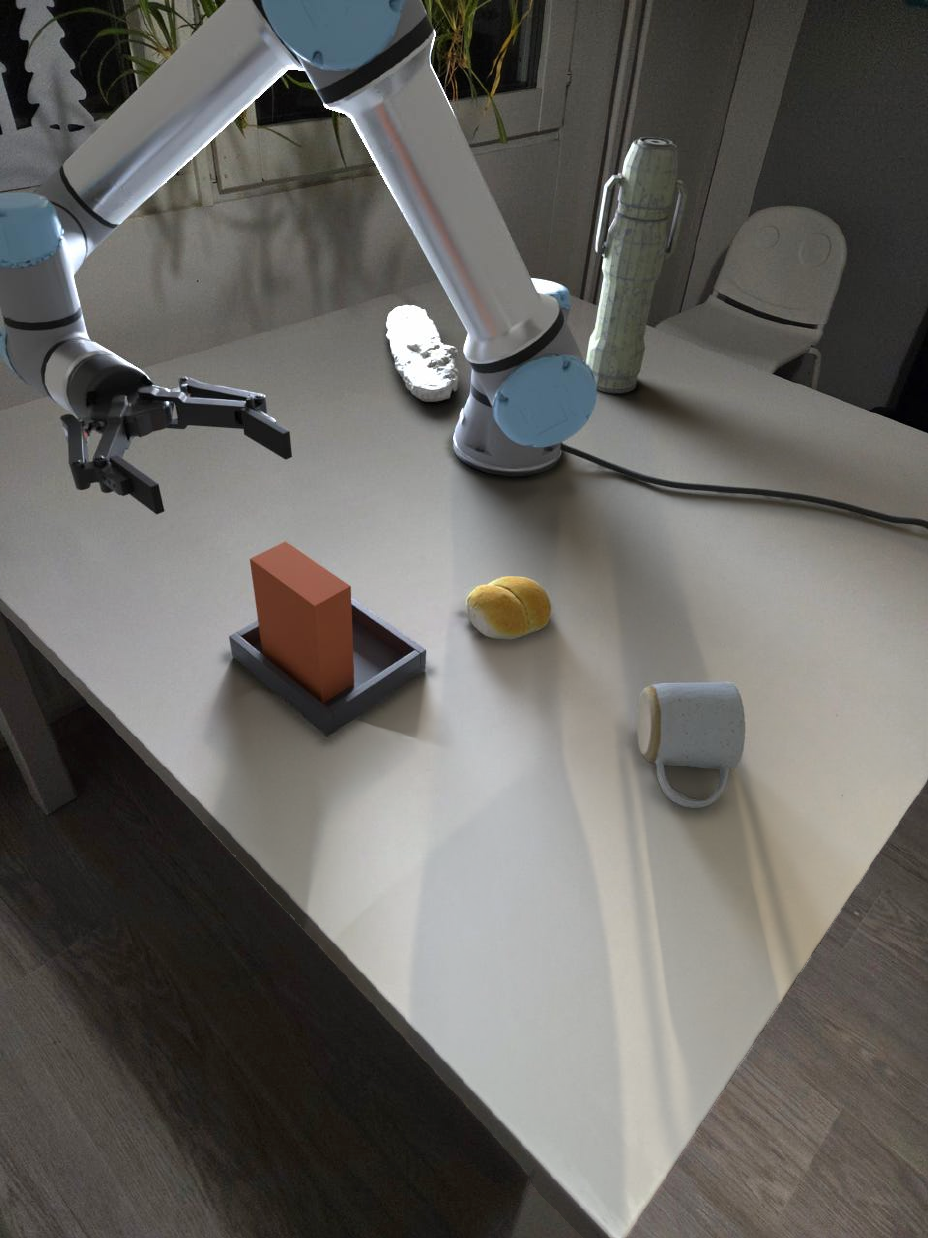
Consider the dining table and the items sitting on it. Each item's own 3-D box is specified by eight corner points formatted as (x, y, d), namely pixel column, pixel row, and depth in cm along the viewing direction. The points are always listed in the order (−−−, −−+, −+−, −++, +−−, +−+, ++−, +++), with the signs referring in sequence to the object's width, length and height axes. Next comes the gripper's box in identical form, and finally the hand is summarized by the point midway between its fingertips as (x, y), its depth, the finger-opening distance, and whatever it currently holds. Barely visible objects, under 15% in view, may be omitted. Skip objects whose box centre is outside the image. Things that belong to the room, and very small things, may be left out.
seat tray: (330, 601, 89) (329, 581, 87) (425, 670, 82) (426, 649, 80) (232, 656, 82) (228, 635, 80) (327, 737, 75) (326, 716, 73)
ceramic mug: (628, 718, 79) (644, 661, 73) (712, 721, 79) (734, 665, 74) (647, 812, 71) (667, 756, 66) (740, 815, 71) (768, 759, 66)
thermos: (652, 393, 133) (708, 150, 110) (581, 393, 132) (623, 146, 109) (637, 370, 140) (687, 135, 117) (569, 369, 138) (606, 131, 115)
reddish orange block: (295, 637, 83) (285, 540, 75) (354, 683, 79) (350, 586, 71) (262, 656, 81) (249, 558, 73) (322, 704, 76) (314, 606, 69)
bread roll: (563, 624, 89) (569, 595, 86) (495, 652, 85) (499, 623, 82) (518, 582, 94) (522, 553, 91) (452, 606, 90) (454, 577, 87)
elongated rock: (432, 325, 152) (378, 329, 150) (431, 296, 149) (376, 300, 147) (470, 403, 125) (405, 408, 124) (470, 369, 122) (404, 374, 120)
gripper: (213, 388, 93) (336, 460, 83) (-10, 464, 79) (105, 563, 68) (202, 323, 88) (332, 390, 78) (-38, 391, 74) (82, 485, 63)
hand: (226, 471), depth 73 cm, fingers open, 13 cm apart
